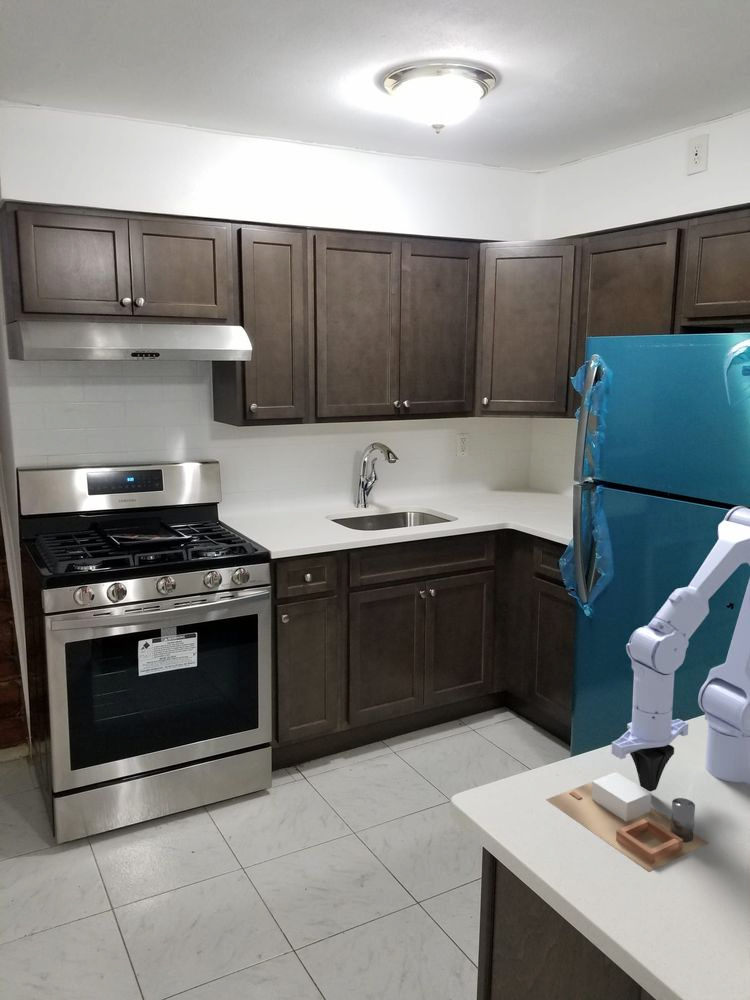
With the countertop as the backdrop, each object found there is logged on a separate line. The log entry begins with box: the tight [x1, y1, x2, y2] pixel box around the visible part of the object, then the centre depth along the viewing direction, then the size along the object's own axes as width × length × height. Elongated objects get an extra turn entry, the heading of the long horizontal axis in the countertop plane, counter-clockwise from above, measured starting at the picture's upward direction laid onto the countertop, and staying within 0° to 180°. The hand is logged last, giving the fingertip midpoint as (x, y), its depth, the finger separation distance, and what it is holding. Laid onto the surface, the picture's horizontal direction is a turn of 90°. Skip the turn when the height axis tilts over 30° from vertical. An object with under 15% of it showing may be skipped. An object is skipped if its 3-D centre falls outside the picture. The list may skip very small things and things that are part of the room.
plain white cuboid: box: [591, 771, 652, 822], centre depth 120 cm, size 5×7×3 cm
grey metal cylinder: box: [670, 797, 696, 843], centre depth 112 cm, size 3×3×5 cm
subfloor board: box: [546, 781, 710, 873], centre depth 117 cm, size 12×20×2 cm, turn 30°
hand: (648, 787), depth 123 cm, fingers closed
